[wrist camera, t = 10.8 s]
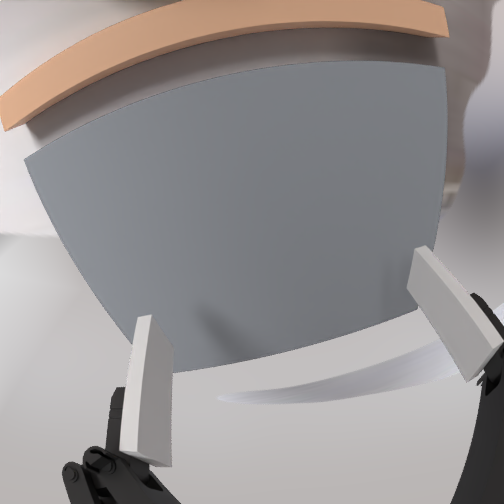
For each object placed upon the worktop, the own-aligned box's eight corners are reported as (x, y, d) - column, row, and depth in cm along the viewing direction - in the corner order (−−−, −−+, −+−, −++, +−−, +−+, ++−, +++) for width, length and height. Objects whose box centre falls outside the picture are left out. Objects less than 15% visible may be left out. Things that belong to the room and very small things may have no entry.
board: (34, 153, 11) (23, 159, 10) (431, 66, 11) (444, 67, 10) (158, 363, 23) (158, 374, 22) (411, 300, 23) (417, 309, 22)
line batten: (16, 94, 9) (-4, 100, 7) (422, 9, 9) (443, 7, 7) (24, 123, 10) (4, 131, 9) (427, 37, 10) (449, 37, 8)
